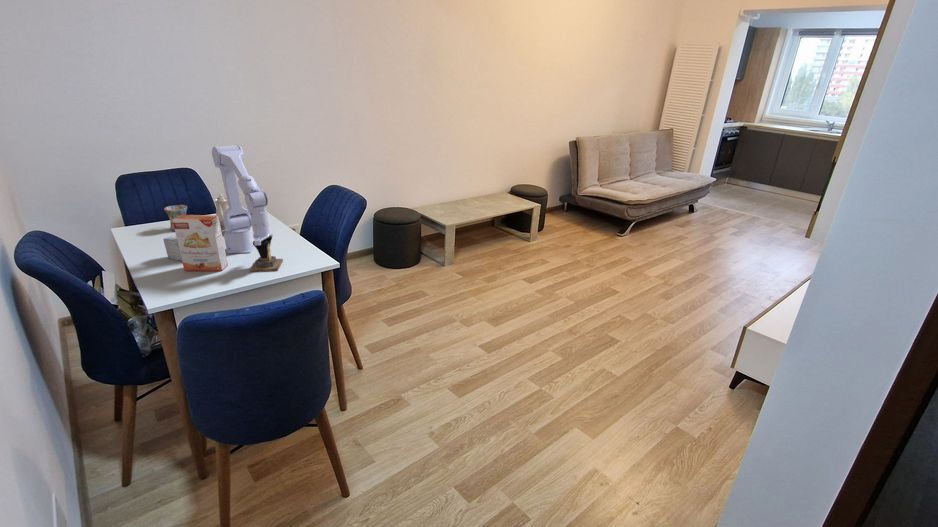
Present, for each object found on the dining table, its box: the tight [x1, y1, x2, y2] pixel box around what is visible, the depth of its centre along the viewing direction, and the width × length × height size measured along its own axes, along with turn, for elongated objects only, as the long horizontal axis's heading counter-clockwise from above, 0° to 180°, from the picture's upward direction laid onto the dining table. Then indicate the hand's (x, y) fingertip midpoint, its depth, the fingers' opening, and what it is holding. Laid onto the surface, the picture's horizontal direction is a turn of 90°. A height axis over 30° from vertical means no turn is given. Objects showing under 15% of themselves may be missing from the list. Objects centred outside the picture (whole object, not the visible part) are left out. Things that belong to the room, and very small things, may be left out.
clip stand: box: [249, 255, 284, 273], centre depth 176 cm, size 10×10×3 cm
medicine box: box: [163, 235, 182, 261], centre depth 180 cm, size 8×4×9 cm, turn 71°
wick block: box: [261, 244, 272, 261], centre depth 174 cm, size 3×3×8 cm
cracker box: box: [172, 214, 229, 272], centre depth 169 cm, size 14×6×21 cm, turn 94°
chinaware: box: [213, 194, 250, 232], centre depth 217 cm, size 28×17×17 cm, turn 15°
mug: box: [163, 204, 188, 232], centre depth 212 cm, size 12×9×11 cm
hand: (265, 256), depth 175 cm, fingers closed on wick block, 3 cm apart
